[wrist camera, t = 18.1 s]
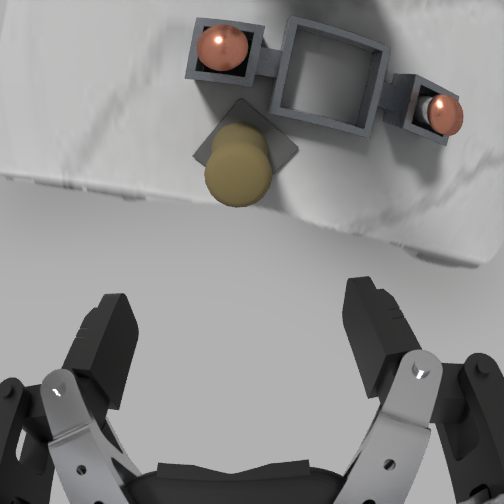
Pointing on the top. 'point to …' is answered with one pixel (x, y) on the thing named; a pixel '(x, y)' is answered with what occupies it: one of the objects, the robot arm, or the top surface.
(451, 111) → the plunger
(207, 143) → the pad
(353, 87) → the top surface
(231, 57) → the plunger
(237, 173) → the cork
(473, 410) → the robot arm
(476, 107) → the top surface
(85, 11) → the top surface
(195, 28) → the housing
